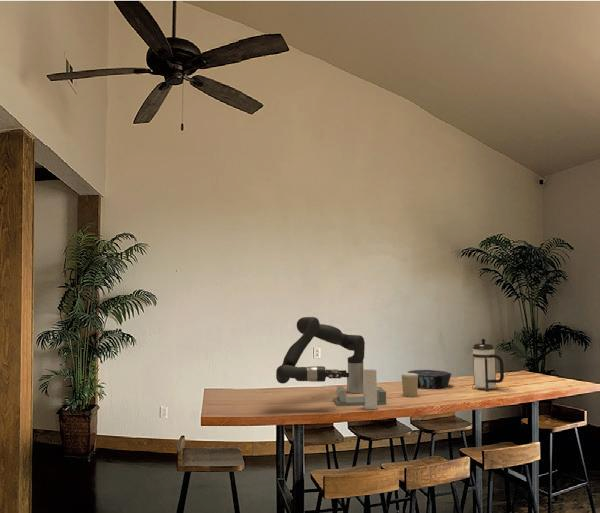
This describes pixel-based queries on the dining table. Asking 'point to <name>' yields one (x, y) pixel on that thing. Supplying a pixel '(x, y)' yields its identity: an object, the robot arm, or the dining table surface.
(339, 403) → the vise base
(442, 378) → the decorative bowl
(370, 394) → the steel block
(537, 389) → the dining table surface
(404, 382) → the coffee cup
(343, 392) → the sliding jaw
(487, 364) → the coffee press
